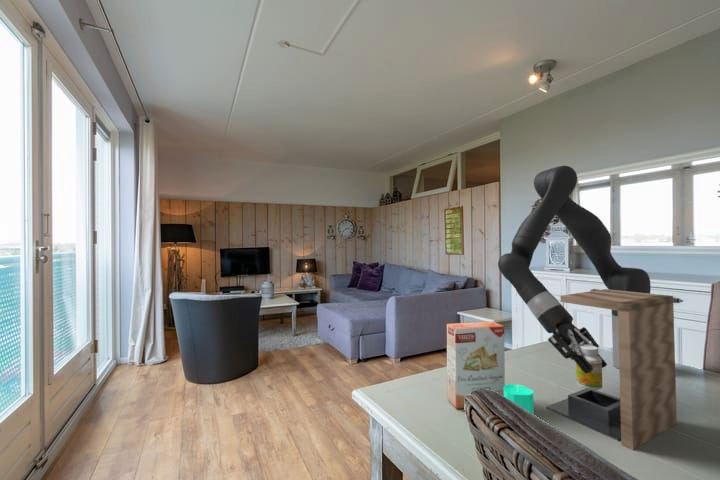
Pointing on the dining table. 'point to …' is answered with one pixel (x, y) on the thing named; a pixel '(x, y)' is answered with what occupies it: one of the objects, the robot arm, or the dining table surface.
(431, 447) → the dining table surface
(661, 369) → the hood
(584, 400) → the socket
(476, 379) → the cracker box
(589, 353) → the supplement bottle
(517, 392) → the candle
